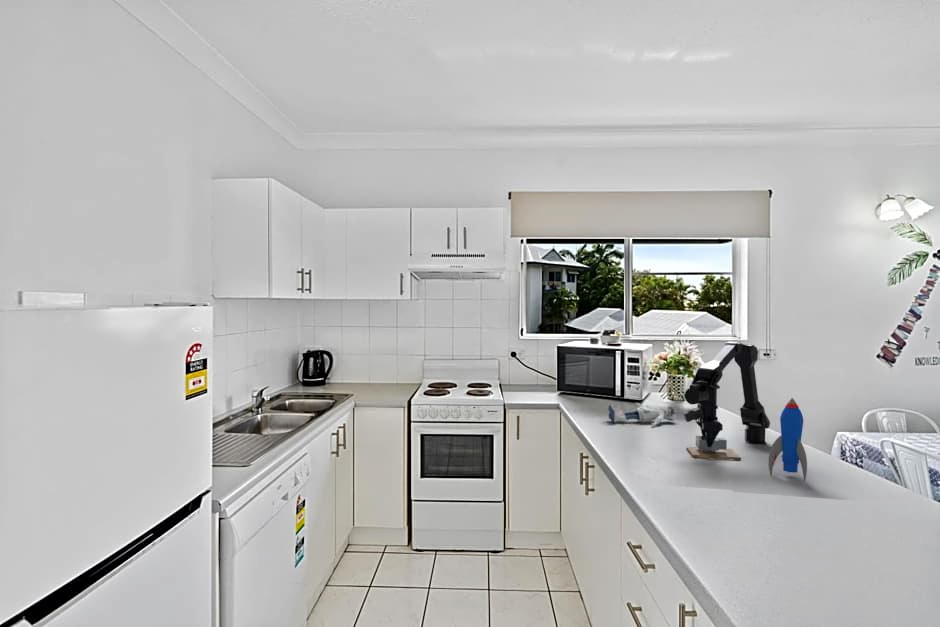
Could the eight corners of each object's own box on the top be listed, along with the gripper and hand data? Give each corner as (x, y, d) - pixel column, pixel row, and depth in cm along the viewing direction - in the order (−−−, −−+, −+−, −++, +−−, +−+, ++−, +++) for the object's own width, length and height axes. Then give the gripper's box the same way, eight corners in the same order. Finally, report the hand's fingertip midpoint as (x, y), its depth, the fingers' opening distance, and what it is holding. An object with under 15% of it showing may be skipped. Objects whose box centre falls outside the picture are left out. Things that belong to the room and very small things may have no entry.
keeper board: (732, 451, 215) (732, 438, 215) (740, 460, 203) (741, 446, 203) (686, 448, 218) (686, 435, 218) (692, 457, 206) (692, 443, 206)
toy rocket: (807, 482, 180) (809, 401, 179) (773, 479, 181) (775, 400, 181) (795, 472, 190) (797, 395, 189) (763, 469, 192) (765, 394, 191)
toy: (604, 396, 274) (667, 392, 274) (604, 412, 276) (666, 408, 277) (617, 418, 252) (686, 413, 253) (617, 436, 255) (685, 431, 255)
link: (723, 446, 213) (723, 437, 213) (727, 451, 206) (727, 441, 206) (695, 445, 215) (695, 435, 215) (699, 449, 208) (699, 439, 208)
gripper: (680, 396, 221) (679, 437, 222) (689, 405, 203) (688, 450, 203) (711, 397, 219) (710, 438, 219) (723, 406, 201) (722, 451, 201)
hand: (707, 444), depth 211 cm, fingers closed on link, 6 cm apart
